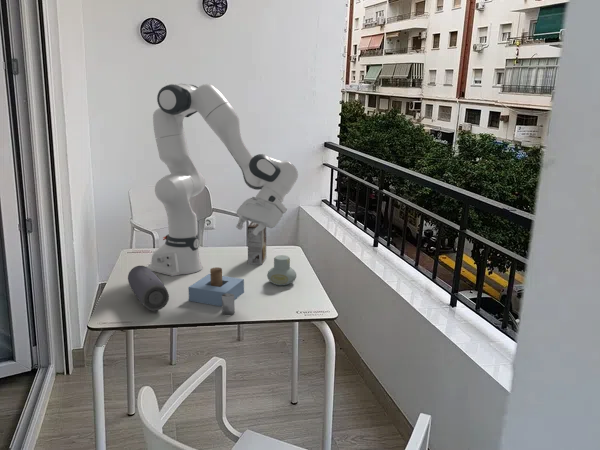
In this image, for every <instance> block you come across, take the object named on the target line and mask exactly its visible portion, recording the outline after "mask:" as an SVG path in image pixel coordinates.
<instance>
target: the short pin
mask: <svg viewBox="0 0 600 450" xmlns="http://www.w3.org/2000/svg"><path fill="white" fill-rule="evenodd" d="M235 304H236V303H235V300H234V294H230V293H227V294H223V295H222V306H221V314H222V316H225V315H231V316H234V315H235V314H234V313H236V312H235V310H236V308H235V307H236V306H235Z"/></svg>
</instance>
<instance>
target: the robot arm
mask: <svg viewBox="0 0 600 450" xmlns="http://www.w3.org/2000/svg"><path fill="white" fill-rule="evenodd" d="M156 103H157V105H158V108H157V109H156V110H155V111H154V112H153V114H152V123H153V125H152V126H153V132H154V133H153V134H154V138H155V143H156V148H157V152H158V156H159V159H160V160H161V162H162V163H164V164H165V166H166V167H167V168H168V170H169V173H170V174H167V175H165V176H163V177H162V178H160V179H159V180H158V181H157V182H156V183H155V185H154V193H155V196H156V198H157V199H158V200H159V201H160V203H162V205H163V207H164V209H165V212H166V216H167V217H166V218H167V226H168V234H166V235H165V236H163V237H162V241H164V240H165V243H164V244H162V245H161V246H160V247H158V248H157V249H156V250H154V251H153V253H152V255H151V261H150V262H149V263H148V264H146V265H145V267H147V268H149V269H150V270H151V271H152V272H154V273H155V272H156V273H158V274H159V273H160V274H163V275H167V276H172V277H174V276H179V275H188V274H194V273H196V272H200V271H201V270H202V269H203V264H202V261H201V256H200V251H199V247H200V246H199V245H200V243H199V240H200V237H199V233H198V219H197V216H198V215H197V214H196V213H195V211H193V209H192V206H191V203H190V199H191V198H194V197H196V196H198V195H199V194H201V193H202V192H203V190H204V189H205V186H206V179H205V177H204V175H203V174H202V172H200V171H199V170H198V169H197V167H196V165H195V163H194V162H193V161H194V160H193V159H192V157H191V154H190V150H189V146H188V143H187V138H186V133H185V129H184V128H185V127H184V125H183V122H184V118H190V116H191V117H192V116H193V115H194V114H196V113H198V114H200V116H201V117H202V119H203V120H204V121H205V122H206V124H207V125H208V126H209V128H210V129H211V130H212V131H213V132H214V134H215V135H216V136H217V137H218V138H219V139H220V141H221V143H222V144H223V145H224V146H225V147H226V148H227V151H228V152H229V153H230V155H231V156H232V157H233V159H234V161H235V162H236V163H237V165H238V167H239V168H240V169H241V173H242V177H243V181H244V183H245V184H246V185H247V186H248V188H250V189H252V190H257V191H258V190H259V191H258V193H257V194H256V195H255V196H252V197H250V198H247V199H246V200H244V201H243V202H242V203H241V205H240V206H239V207H238V208H237V209H236V212H235V214H236V215H237V216H238V217H239V219H238V223H237V224H236V225H235V227H236V229H237V230H240V231H241V230H242V229H243V228H244V223H246V221H248V222H250V223H251V222H253V223H256V224H258V225H259V226H257V227H256V228H253V230H252V231H251V233H252V234H253V235H257V234H258V233H259V232H260V231H262V230H263V229H264V228H265V227H266V228H268V229H273V228H276V226H277V225H278V223H280V221H281V219H282V217H283V215H284V214H286V212H288V211H287V210H288V209H287V207H286V206H285V204H283V203H282V202H283V201H284V199H285V197H286V196H287V194H289V193H290V192H291V190H292V188H293V187H294V185H295V184H296V182H297V180H298V177H299V173H298V170H297V168H296V166H295V165H294V164H293V163H292V162H290V161H288V160H278V159H276V158H273V157H270V156H268V155H267V154H263V153H262V154H261V153H260V154H256V155H252V153H251V151H250V150H249V149H248V148H247V146H246V145H245V143H244V141H243V139H242V136H241V135H242V134H241V126H240V118H239V116H238V113H237V112H236V110H235V108H234V107H233V106H232V104H231V103H230V101H229V100H228V99H227V98H226V96H225V95H224V94H223V93H222V92H221V91H220V90H219V89H217V88H216V87H215V86H214V85H213V84H211V83H204V84H201V85H199V86H196V85H194V84H187V83H177V84H173V83H171V84H167V85H164V86H163V87H161V88H160V90H159V91H158V93H157V96H156Z"/></svg>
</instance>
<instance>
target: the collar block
mask: <svg viewBox="0 0 600 450" xmlns="http://www.w3.org/2000/svg"><path fill="white" fill-rule="evenodd" d="M187 288H188V301H189V302H195V303H200V304H206V305H211V306H212V305H213V306H217V307H218V306H219V307H222V295H223V294H227V293H230V294H234V301H235V300H237V298H239V297H240V296H241V295H243V294H244V293H245V279H244V278H238V277H232V276H225V275H222V286H221V287H216V286H211V275H210V273H208V274H207V275H205V276H204V277H202V278H200V279H199V280H197V281H195V283H193V284H191V285H189V286H188V287H187Z"/></svg>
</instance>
